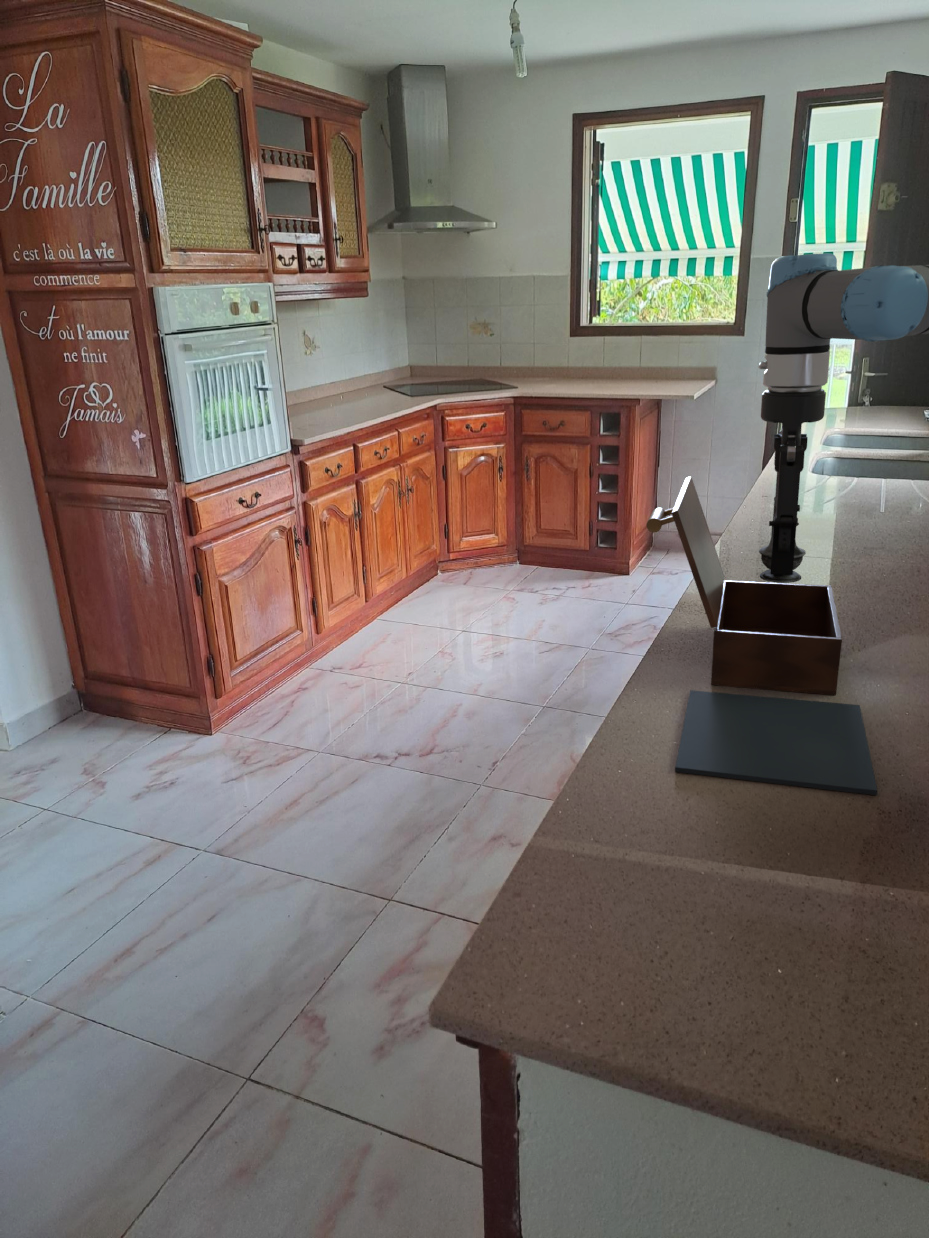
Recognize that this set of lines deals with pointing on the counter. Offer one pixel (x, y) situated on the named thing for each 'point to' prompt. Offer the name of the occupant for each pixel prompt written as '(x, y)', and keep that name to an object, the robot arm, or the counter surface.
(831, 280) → the robot arm
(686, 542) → the bread box lid
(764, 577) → the salt shaker
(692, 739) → the mat
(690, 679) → the counter surface
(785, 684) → the bread box
